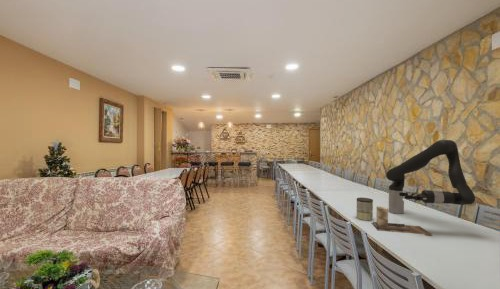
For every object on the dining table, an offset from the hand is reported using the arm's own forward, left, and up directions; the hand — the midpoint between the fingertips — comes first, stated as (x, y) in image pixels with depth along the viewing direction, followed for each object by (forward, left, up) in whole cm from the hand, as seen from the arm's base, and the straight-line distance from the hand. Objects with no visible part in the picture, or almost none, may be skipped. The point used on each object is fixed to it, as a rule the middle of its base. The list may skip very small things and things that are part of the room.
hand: (402, 195), depth 150 cm
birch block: (+11, -3, -20) cm, 23 cm away
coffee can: (+13, -20, -21) cm, 32 cm away
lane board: (+1, 0, -21) cm, 21 cm away
